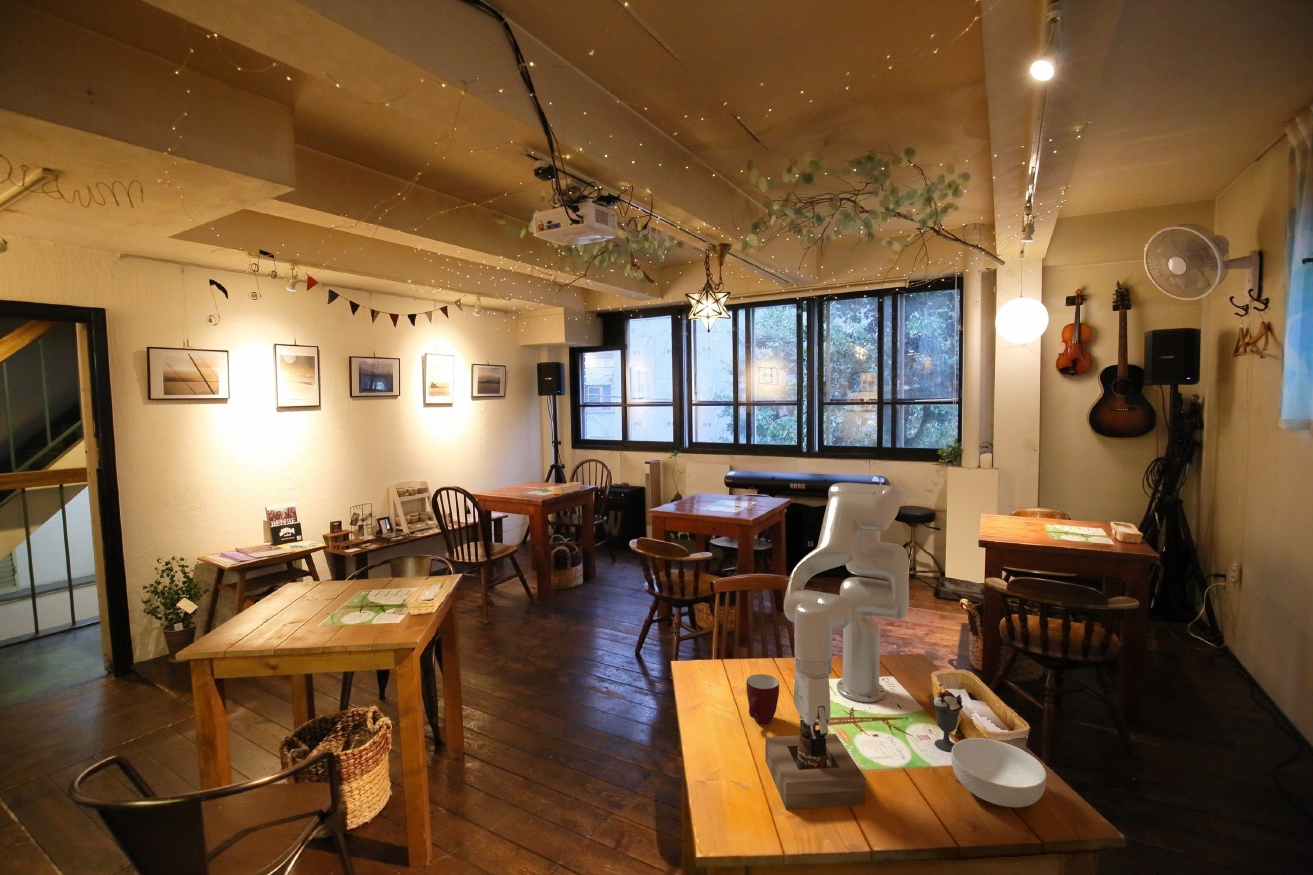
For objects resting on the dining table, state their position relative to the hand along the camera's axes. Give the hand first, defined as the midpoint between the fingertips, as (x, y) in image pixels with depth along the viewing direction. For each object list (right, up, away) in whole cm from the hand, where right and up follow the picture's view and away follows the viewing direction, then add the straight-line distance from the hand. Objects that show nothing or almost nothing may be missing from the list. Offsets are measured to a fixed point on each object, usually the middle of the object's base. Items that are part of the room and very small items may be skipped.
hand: (812, 745), depth 127 cm
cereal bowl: (+36, -8, -4) cm, 38 cm away
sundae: (+34, -7, +13) cm, 37 cm away
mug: (-7, -7, +24) cm, 26 cm away
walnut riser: (0, -8, 0) cm, 8 cm away
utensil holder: (0, -5, 0) cm, 5 cm away
